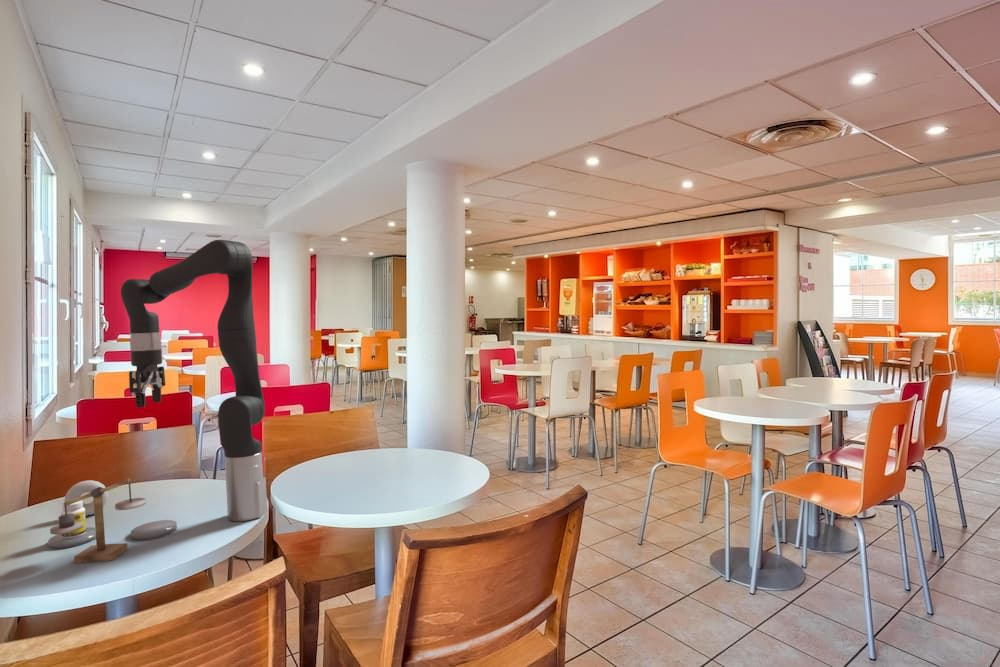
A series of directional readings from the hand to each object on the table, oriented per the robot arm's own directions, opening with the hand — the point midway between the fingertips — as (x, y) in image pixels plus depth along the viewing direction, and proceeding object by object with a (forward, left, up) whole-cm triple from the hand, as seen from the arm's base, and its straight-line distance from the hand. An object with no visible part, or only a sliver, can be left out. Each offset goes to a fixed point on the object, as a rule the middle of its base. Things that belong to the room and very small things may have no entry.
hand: (149, 404), depth 158 cm
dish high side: (-10, +20, -30) cm, 37 cm away
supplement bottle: (+8, +22, -29) cm, 37 cm away
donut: (+16, +4, -30) cm, 34 cm away
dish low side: (+8, +22, -30) cm, 38 cm away
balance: (-5, +33, -30) cm, 45 cm away
